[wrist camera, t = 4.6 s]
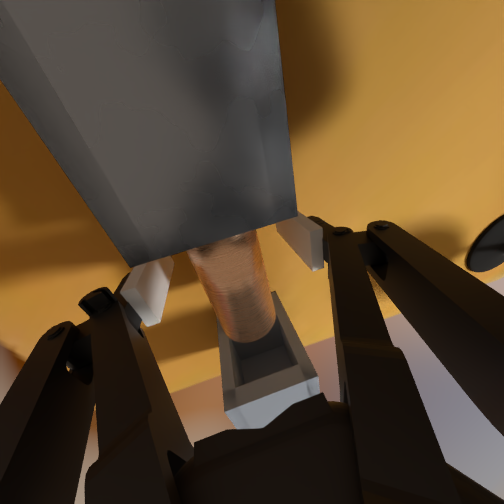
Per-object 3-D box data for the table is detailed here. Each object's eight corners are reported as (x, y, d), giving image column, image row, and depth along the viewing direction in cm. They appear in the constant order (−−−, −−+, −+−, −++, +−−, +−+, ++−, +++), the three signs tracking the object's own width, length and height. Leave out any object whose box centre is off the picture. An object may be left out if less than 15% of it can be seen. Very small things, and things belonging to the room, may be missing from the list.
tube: (119, 78, 9) (61, 30, 5) (208, 57, 10) (211, -1, 6) (220, 306, 17) (225, 351, 14) (266, 291, 18) (284, 330, 14)
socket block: (216, 311, 23) (224, 412, 14) (275, 291, 23) (318, 376, 15) (231, 343, 26) (245, 441, 17) (282, 325, 26) (321, 411, 18)
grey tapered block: (109, 80, 12) (-102, -69, 4) (222, 55, 12) (261, -124, 4) (167, 205, 16) (130, 267, 8) (250, 181, 16) (298, 216, 8)
